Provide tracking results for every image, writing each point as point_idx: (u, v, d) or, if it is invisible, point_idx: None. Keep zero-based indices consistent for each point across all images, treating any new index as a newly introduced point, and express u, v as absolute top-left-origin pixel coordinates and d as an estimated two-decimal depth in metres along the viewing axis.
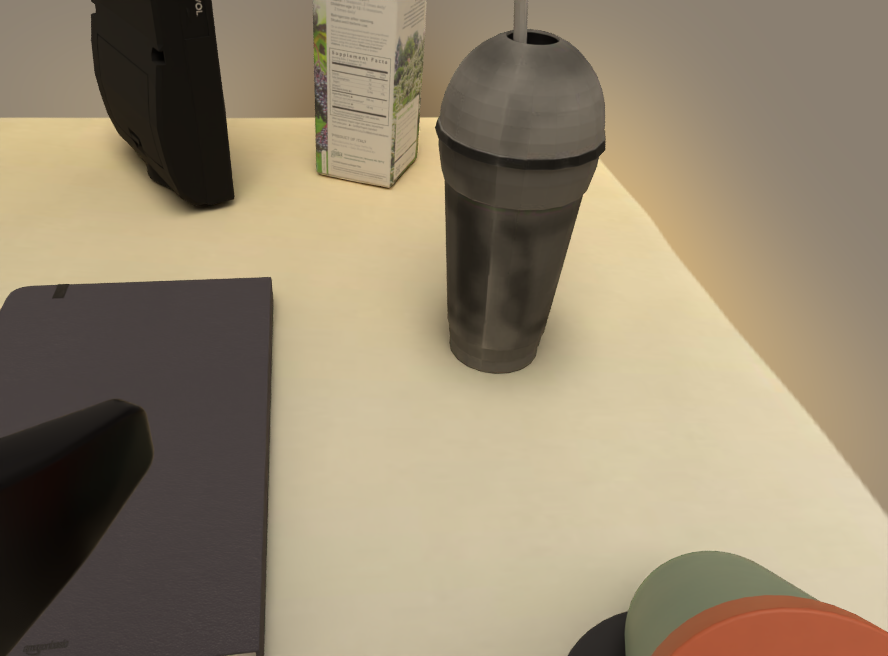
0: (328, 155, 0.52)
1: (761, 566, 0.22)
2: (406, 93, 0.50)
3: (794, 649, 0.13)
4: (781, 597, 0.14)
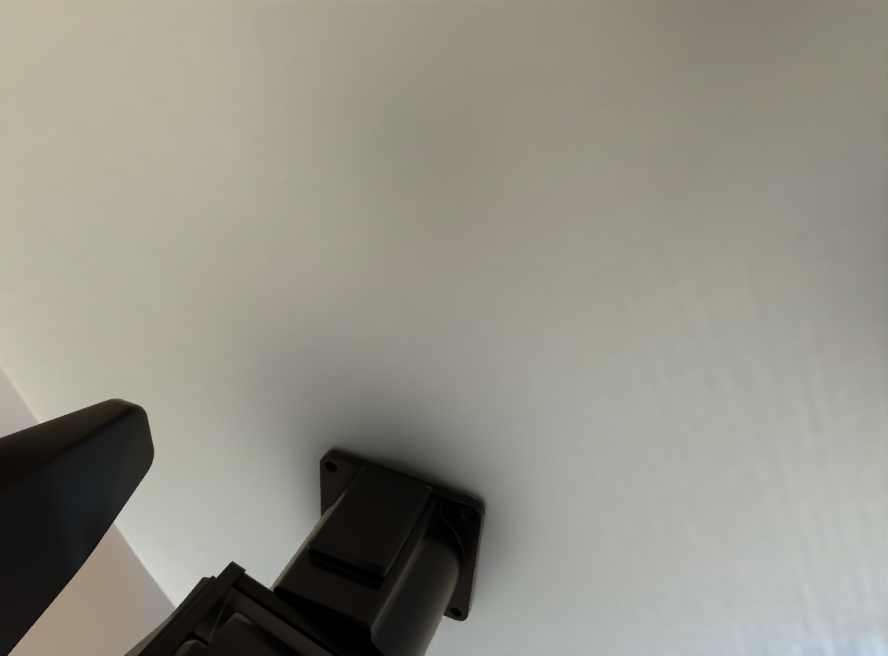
0: None
1: None
2: None
3: None
4: None
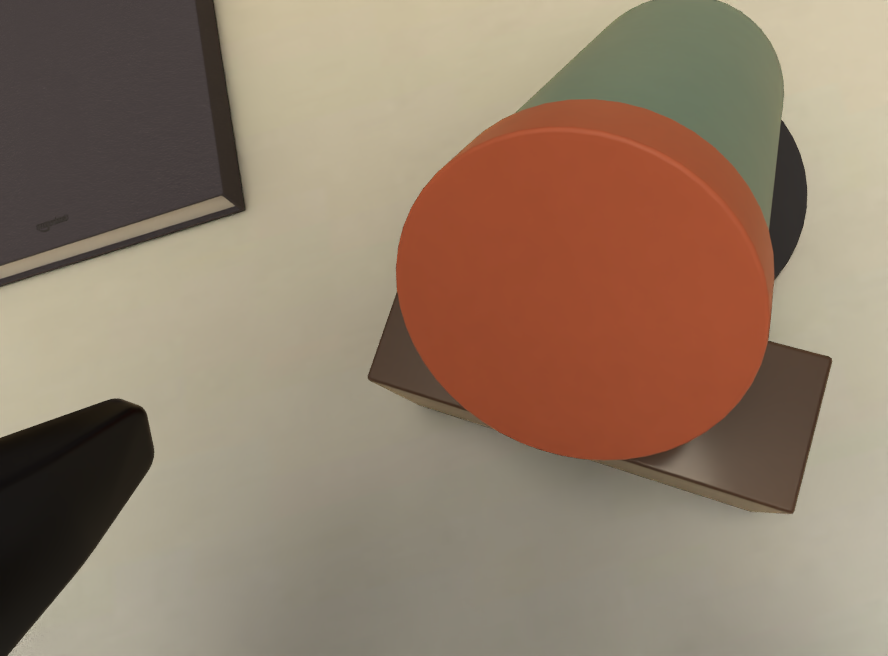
0: None
1: (706, 10, 0.18)
2: None
3: (535, 174, 0.11)
4: (554, 106, 0.11)
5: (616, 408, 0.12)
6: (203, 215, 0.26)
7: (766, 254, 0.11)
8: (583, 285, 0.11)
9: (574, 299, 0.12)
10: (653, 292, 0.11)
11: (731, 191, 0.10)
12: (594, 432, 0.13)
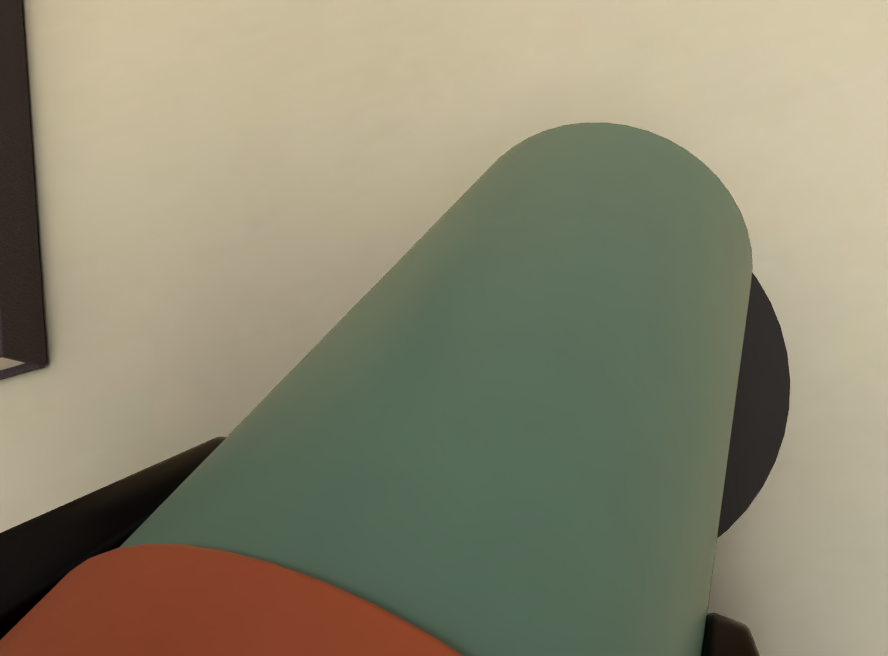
0: None
1: (628, 162, 0.12)
2: None
3: None
4: (177, 580, 0.05)
5: None
6: None
7: None
8: None
9: None
10: None
11: None
12: None
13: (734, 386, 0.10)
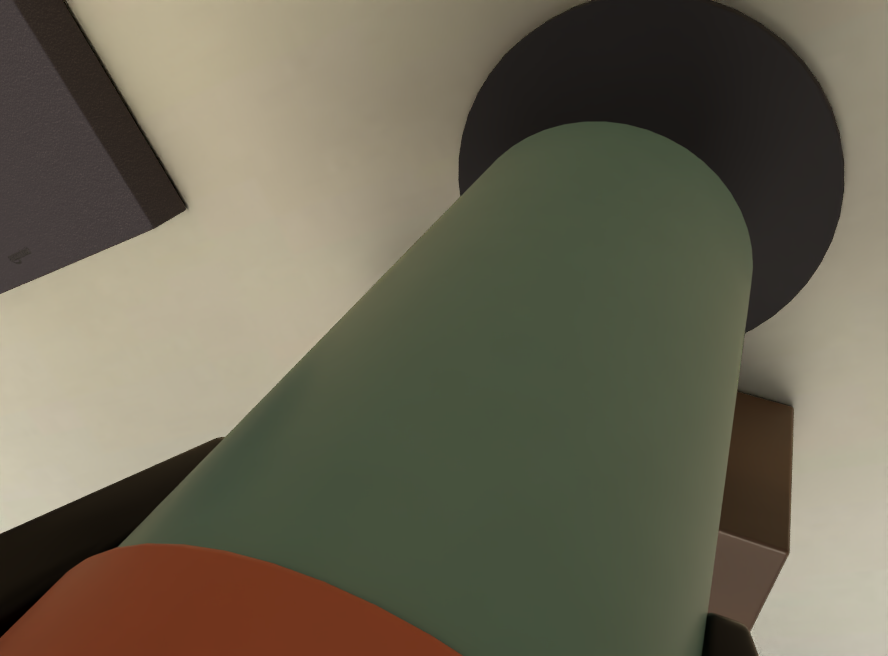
0: None
1: (628, 160, 0.12)
2: None
3: None
4: (175, 580, 0.05)
5: None
6: None
7: None
8: None
9: None
10: None
11: None
12: None
13: (735, 385, 0.10)
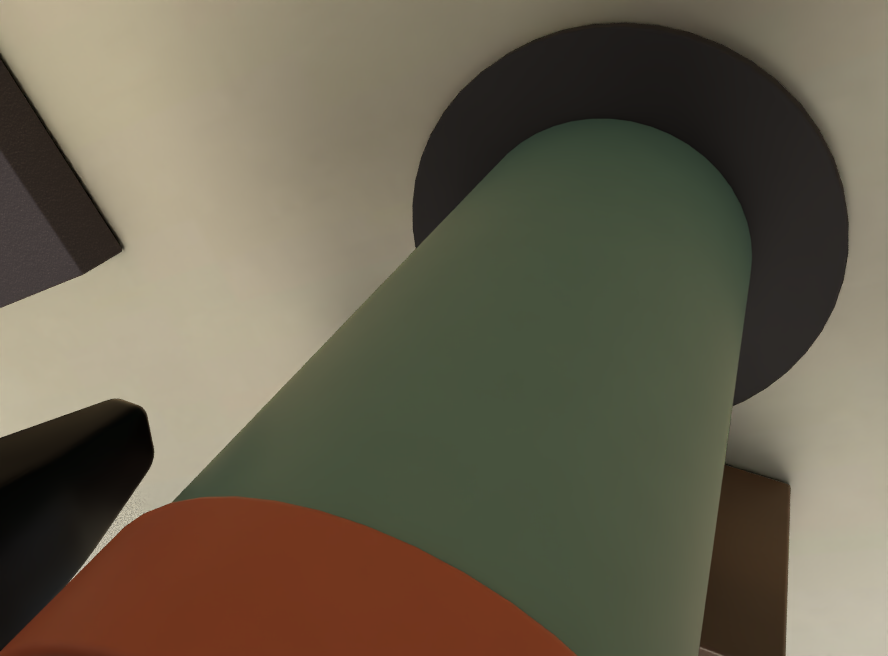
0: None
1: (633, 155, 0.12)
2: None
3: None
4: (233, 526, 0.06)
5: None
6: None
7: None
8: None
9: None
10: None
11: None
12: None
13: (734, 368, 0.11)
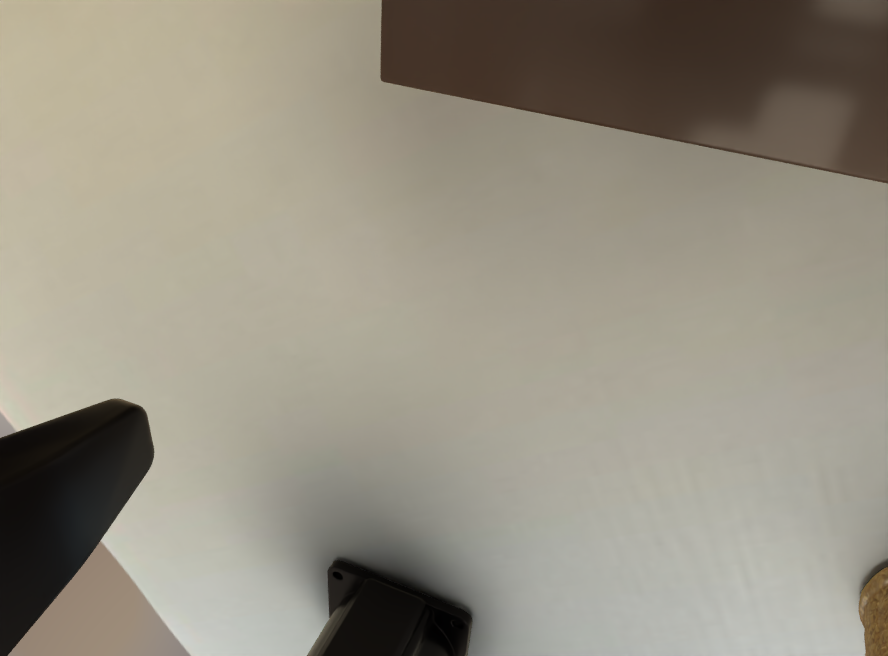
0: None
1: None
2: None
3: None
4: None
5: None
6: None
7: None
8: None
9: None
10: None
11: None
12: None
13: None
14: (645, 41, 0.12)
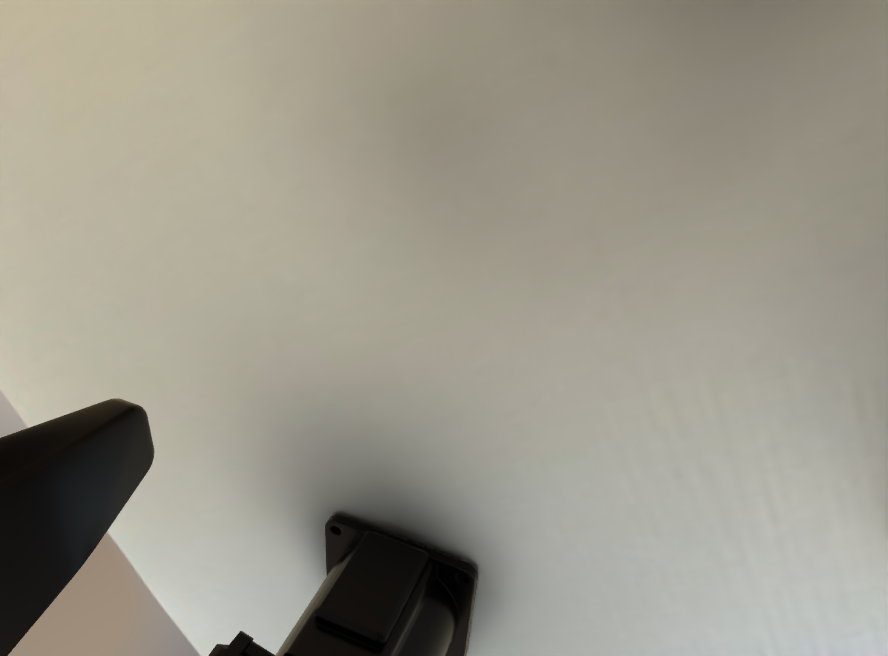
0: None
1: None
2: None
3: None
4: None
5: None
6: None
7: None
8: None
9: None
10: None
11: None
12: None
13: None
14: None
